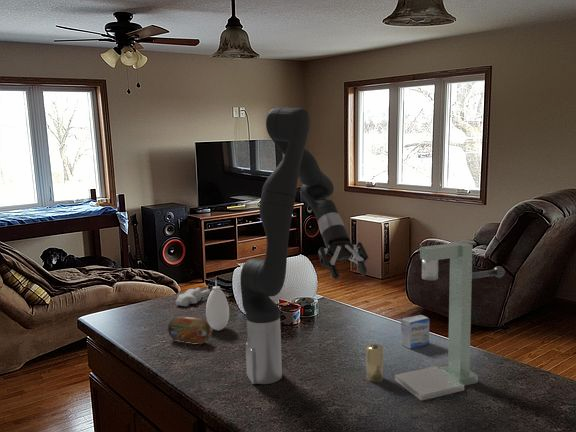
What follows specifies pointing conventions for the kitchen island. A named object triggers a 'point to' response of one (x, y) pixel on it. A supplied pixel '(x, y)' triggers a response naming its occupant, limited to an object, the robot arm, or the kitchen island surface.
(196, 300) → the bunny figurine
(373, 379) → the housing
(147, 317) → the kitchen island surface
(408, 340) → the medicine box
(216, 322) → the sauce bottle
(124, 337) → the kitchen island surface
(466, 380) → the press bed
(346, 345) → the kitchen island surface
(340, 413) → the kitchen island surface
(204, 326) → the tin
